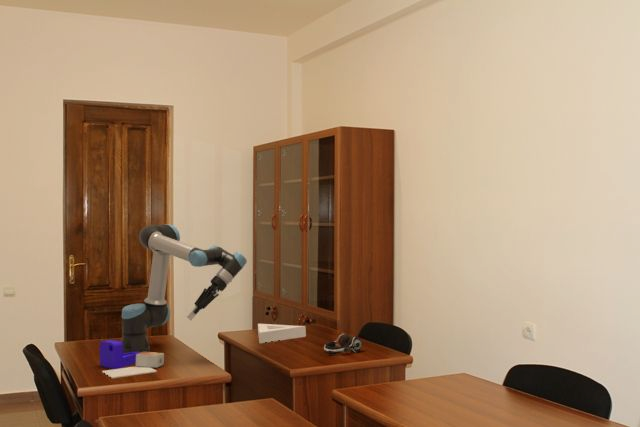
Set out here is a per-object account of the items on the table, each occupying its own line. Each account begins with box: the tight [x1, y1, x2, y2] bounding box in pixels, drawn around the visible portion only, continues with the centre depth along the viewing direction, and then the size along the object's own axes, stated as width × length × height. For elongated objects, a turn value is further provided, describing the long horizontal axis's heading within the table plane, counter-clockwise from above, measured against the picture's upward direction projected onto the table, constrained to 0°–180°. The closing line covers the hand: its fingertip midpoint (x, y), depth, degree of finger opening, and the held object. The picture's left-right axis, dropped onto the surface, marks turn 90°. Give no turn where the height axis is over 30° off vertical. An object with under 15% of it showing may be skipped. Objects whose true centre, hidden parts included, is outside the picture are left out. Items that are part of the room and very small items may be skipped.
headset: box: [323, 333, 363, 356], centre depth 359 cm, size 17×8×20 cm
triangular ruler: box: [257, 323, 307, 344], centre depth 400 cm, size 30×26×6 cm
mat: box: [101, 365, 158, 379], centre depth 322 cm, size 15×20×1 cm
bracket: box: [99, 339, 140, 370], centre depth 339 cm, size 18×11×12 cm, turn 142°
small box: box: [135, 351, 165, 369], centre depth 332 cm, size 8×6×10 cm
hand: (188, 318), depth 337 cm, fingers closed
